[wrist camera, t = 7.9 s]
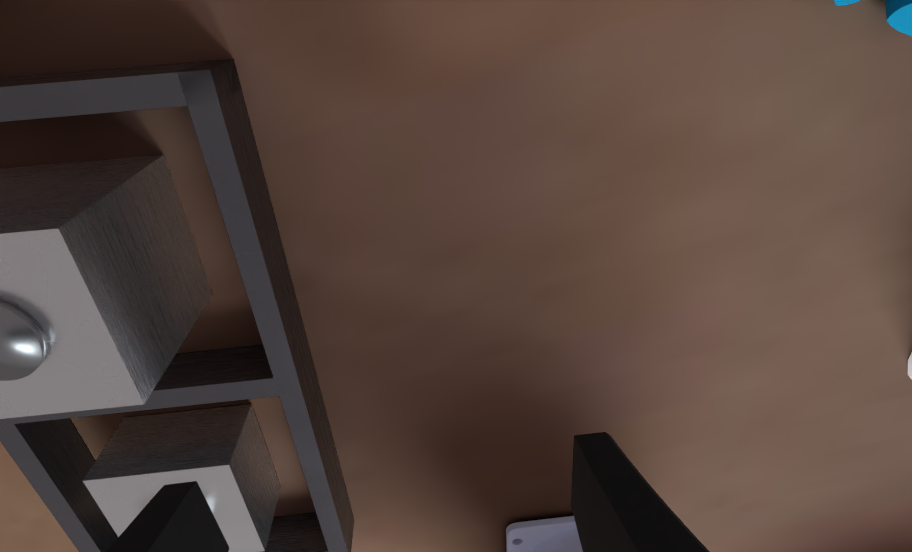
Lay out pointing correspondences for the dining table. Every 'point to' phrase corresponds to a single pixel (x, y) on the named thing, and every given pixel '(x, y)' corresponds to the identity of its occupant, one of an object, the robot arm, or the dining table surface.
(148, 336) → the grey square block
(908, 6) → the gear
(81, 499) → the grey flat rectangular frame
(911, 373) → the beverage cup
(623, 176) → the dining table surface
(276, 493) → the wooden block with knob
